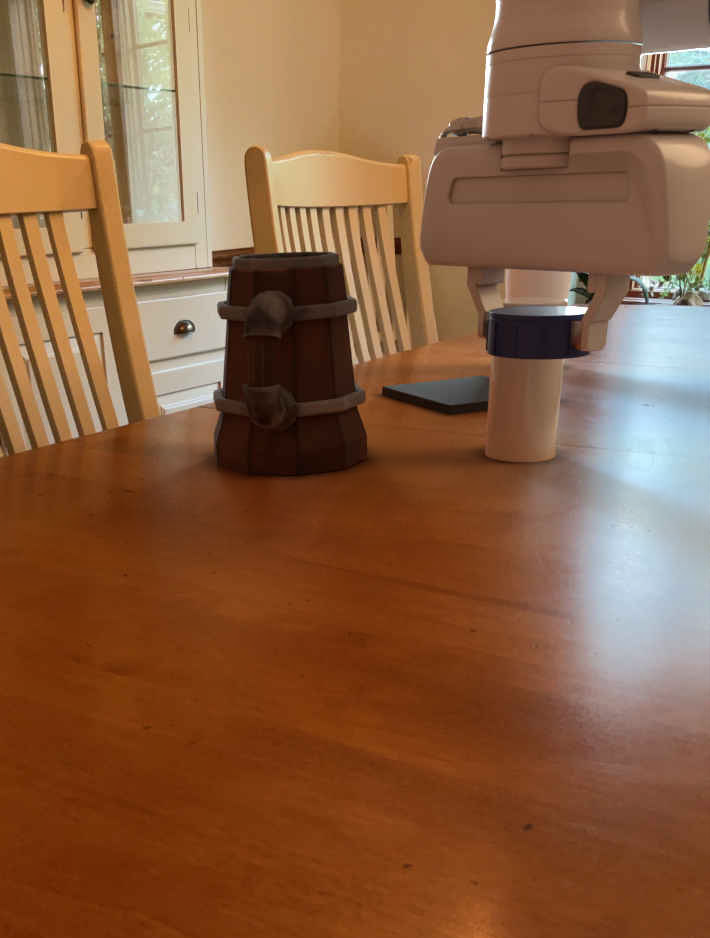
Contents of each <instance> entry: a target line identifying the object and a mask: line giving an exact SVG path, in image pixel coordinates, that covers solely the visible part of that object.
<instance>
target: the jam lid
mask: <svg viewBox="0 0 710 938" xmlns="http://www.w3.org/2000/svg"><path fill="white" fill-rule="evenodd" d="M587 308H588V307H584V306H583V307H582V306H571V305H568V306H515V307H503V308H496V309H492V310H490V311H489V319H488V320H487V336H486V339H485V351H486V354H488V355H489V356H491V355H493V356H497V357H503V358H513V359H532V360H550V359H565V360H569V359H577V358H578V359H579V358H583V357H588V356H589V355H591V354H592V352H588V351H580V350H573V349H571V347H570V345H569V338H570V337H571V334H570V322H571V321H574V320H582V318H583V316H584V314H585V312H586V310H587Z"/></svg>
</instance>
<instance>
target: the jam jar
mask: <svg viewBox="0 0 710 938" xmlns="http://www.w3.org/2000/svg"><path fill="white" fill-rule="evenodd" d="M501 299H502V303H503V306H504V307H515V306H567V300H566V299H561V298H550V297H518V298H506V297H505V298H501ZM563 362H564V363H565V360H564V359H550V360H532V359H513V358H503V357H497V356H493V355H490V367H489V377H490V380H489V396H488V410H487V411H486V415H487V416H486V428H485V429H486V430H485V431H486V432H485V447H484V455H485V456H486V457H487V458H490V459H492V460H497V461H502V462H511V463H539V462H544V461H549V460H551V459H553V458H555V457H556V450H557V441H558V440H557V439H558V428H559V418H560V407H561V395H562V385H563V373H564V372H563V371H564V364H563Z"/></svg>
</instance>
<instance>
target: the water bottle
mask: <svg viewBox="0 0 710 938" xmlns="http://www.w3.org/2000/svg"><path fill="white" fill-rule="evenodd" d="M572 276H573V272H559V271H540V270H520V269H505V298H518V297H550V298H561V299H566V300H567V306H569V301H568V300H569V294H570V290H571V285H572V284H571V283H572ZM565 360H566V359H564V362H563V365H564V364H565Z"/></svg>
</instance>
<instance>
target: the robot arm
mask: <svg viewBox="0 0 710 938" xmlns="http://www.w3.org/2000/svg"><path fill="white" fill-rule="evenodd" d="M494 16H495V17H494V23H493V27H492V30H491V34H490V37H489V41H488V42H487V43H488V44H487V48H486V59H485V78H484V95H483V107H482V109H483V110H482V111H483V112H482V115H480V116H476V117H467V116H463V117H461V116H460V117H458V118H454V119H453V120H451V121H450V122H449V124H448V126H447V127H446V128H445V129H444V130H443V131H442V132H441V133H440V135H439V137H438V138H437V139H436V140H435V143H434V147H433V156H432V157H433V159H432V163H431V165H430V168H429V171H428V174H427V175H428V176H427V180H426V185H425V193H424V199H423V207H422V212H421V213H422V215H421V223H420V231H419V232H420V234H419V249H420V251H421V255H422V257H423V258H424V261H425V263H426V264H427V265H429V266H444V267H445V266H446V267H465V268H467V273H466V274H467V275H466V277H467V278H466V286H467V288H468V291H469V293H470V297H471V299H472V302H473V304H474V306H475V309H476V312H478V317H477V318H478V319H477V336H478V337H479V338H480V339H483V340H486V336H487V320H488V319H489V311H490V310H492V309H496V308H503V307H504V306H503V303H502V299H503V298H502V295H501V292H500V288H499V285H498V284H503V283H505V275H506V269H520V270H540V271H559V272H572V273H579V274H580V273H582V274H588V276H587V288H586V291H587V293H588V294H593V297H592V298H591V300H590V302H589V305H588V306H587V307H586V308H587V310H586V312H585V314H584V316H583V318H582V320H574V321H571V322H570V334H571V337H570V338H569V345H570V347H571V349H573V350H580V351H588V352H591V353H592V352H599V351H603V350H604V348H606V347H605V346H606V344H607V337H608V329H609V321H610V320H612V318H613V316H614V315H615V313H616V312H617V310H618V309H619V307H620V306H621V305H622V303H623V301H624V300H625V298H626V296H627V295H628V293H629V289H630V281H631V276H638V277H667V276H670V277H671V276H676V275H678V276H679V275H684V274H688V273H689V272H691V270H692V269H693V268H694V267H695V266H696V265H697V263H698V262H699V260H700V259H701V258H702V257H703V255H704V254H705V250H706V247H707V242H708V236H709V228H710V147H709V145H708V143H707V141H706V140H705V139H704V138H702V137H701V136H700V135H697V134H699V133H702V132H705V131H706V130H707V129H708V128H710V89H709V88H706V87H703V86H700V85H697V84H694V83H691V82H687V81H683V80H680V79H676V78H673V77H670V76H666V75H663V74H660V73H657V72H654V71H651V70H648V69H643V68H642V67H641V63H642V62H641V61H642V56H645V55H655V54H666V53H667V54H668V53H676V52H687V51H697V50H707V49H710V0H495V15H494ZM696 133H697V134H696ZM449 135H451V136H449Z"/></svg>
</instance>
